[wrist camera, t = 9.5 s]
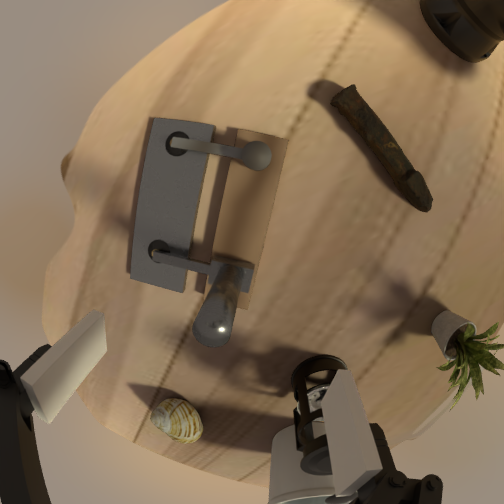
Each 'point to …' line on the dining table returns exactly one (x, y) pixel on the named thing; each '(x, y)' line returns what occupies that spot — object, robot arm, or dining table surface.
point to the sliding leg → (215, 293)
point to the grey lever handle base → (244, 196)
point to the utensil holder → (296, 472)
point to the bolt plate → (168, 201)
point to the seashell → (178, 420)
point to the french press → (314, 419)
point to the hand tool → (384, 147)
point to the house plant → (465, 350)
